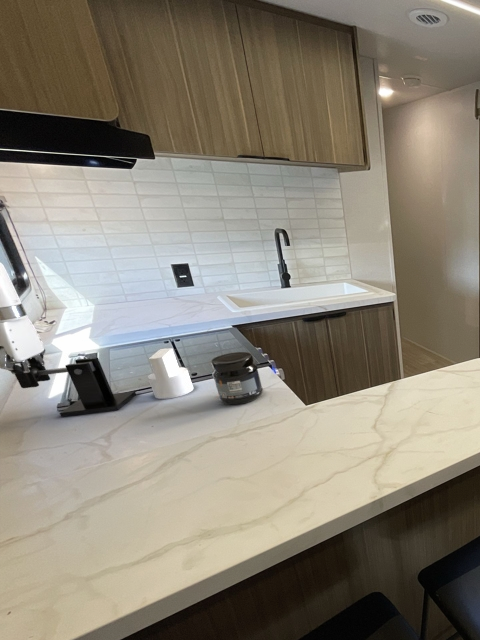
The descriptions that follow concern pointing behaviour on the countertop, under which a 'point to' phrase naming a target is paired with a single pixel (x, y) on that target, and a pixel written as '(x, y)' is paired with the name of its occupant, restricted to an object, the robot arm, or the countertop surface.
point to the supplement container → (236, 378)
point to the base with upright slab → (168, 375)
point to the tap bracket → (93, 390)
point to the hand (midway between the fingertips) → (36, 383)
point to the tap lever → (52, 370)
